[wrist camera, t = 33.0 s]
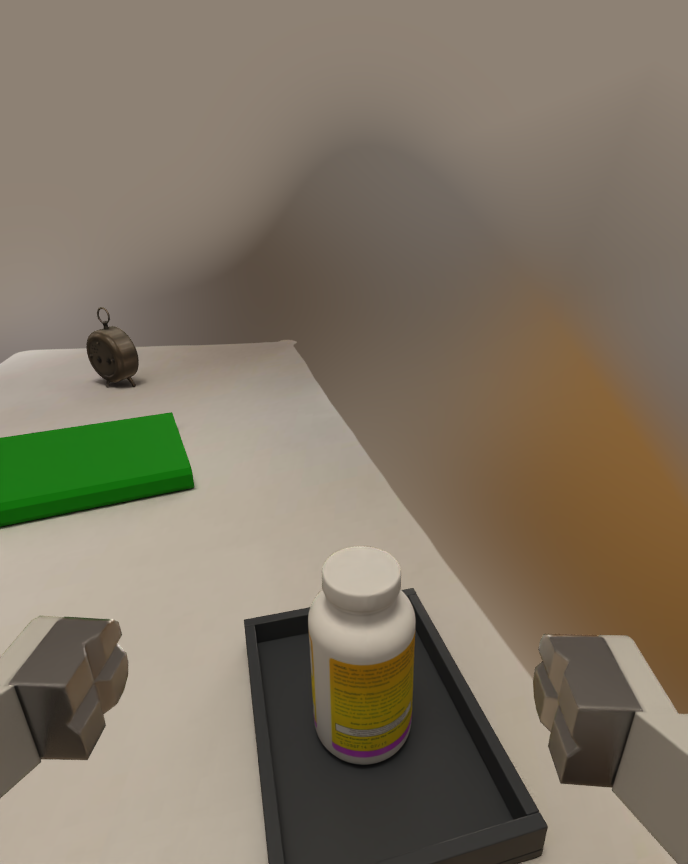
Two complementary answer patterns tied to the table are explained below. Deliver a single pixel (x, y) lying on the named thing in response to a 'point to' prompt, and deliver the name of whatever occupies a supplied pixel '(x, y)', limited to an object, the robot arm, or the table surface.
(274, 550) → the table surface
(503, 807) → the tray
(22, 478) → the book
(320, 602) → the supplement bottle
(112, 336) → the alarm clock
